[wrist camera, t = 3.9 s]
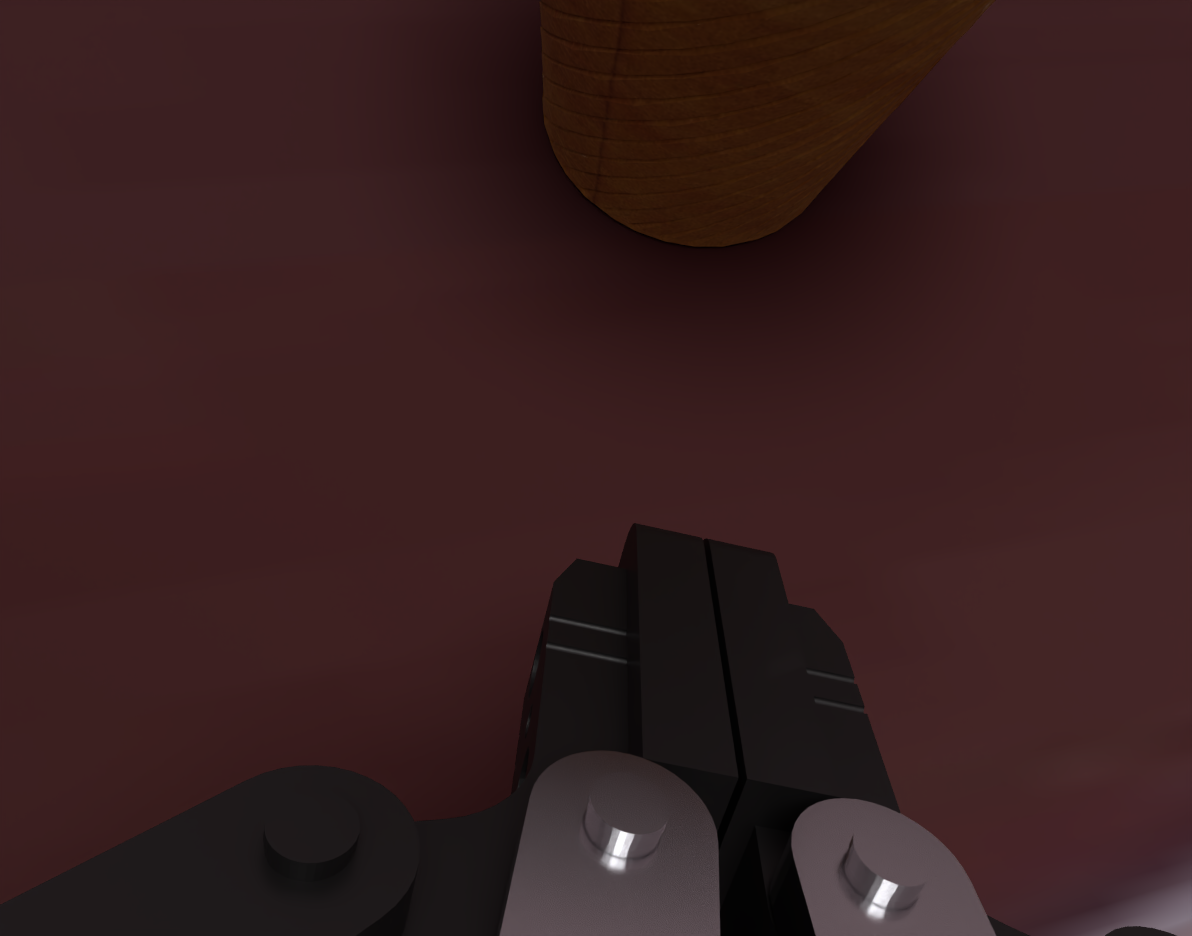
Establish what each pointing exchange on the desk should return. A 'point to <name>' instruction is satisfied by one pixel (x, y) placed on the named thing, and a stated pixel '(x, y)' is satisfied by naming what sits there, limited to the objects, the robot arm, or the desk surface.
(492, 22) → the desk surface
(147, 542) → the desk surface
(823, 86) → the disposable coffee cup
